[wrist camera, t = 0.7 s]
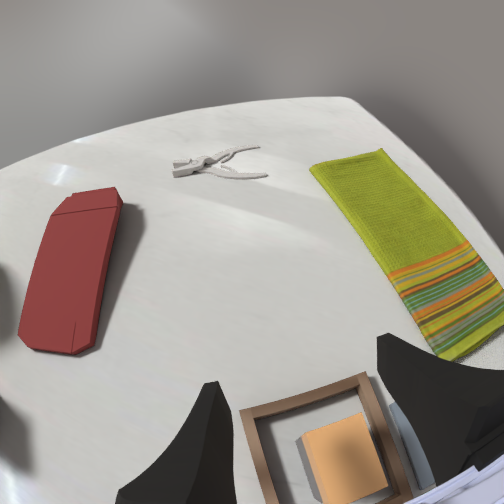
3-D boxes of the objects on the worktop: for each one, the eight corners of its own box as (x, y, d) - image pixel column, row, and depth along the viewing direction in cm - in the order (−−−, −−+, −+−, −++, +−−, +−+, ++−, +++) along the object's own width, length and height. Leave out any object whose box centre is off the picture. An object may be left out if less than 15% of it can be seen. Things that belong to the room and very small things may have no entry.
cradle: (406, 497, 18) (413, 498, 17) (280, 545, 16) (281, 549, 15) (361, 375, 27) (365, 371, 25) (240, 413, 25) (239, 410, 24)
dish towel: (439, 374, 26) (453, 364, 23) (306, 173, 48) (308, 156, 46) (511, 319, 28) (524, 306, 26) (380, 159, 51) (384, 145, 48)
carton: (108, 364, 32) (134, 201, 45) (87, 354, 28) (124, 180, 41) (37, 355, 32) (73, 209, 45) (15, 344, 28) (60, 191, 41)
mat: (485, 444, 19) (488, 443, 19) (420, 489, 18) (422, 489, 18) (455, 369, 25) (457, 368, 25) (388, 405, 24) (390, 404, 24)
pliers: (266, 170, 46) (169, 183, 45) (267, 179, 47) (171, 191, 46) (257, 140, 52) (174, 151, 52) (258, 147, 53) (176, 158, 53)
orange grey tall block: (356, 482, 20) (388, 485, 14) (313, 497, 19) (331, 509, 13) (337, 427, 24) (361, 412, 17) (295, 441, 23) (305, 432, 17)
